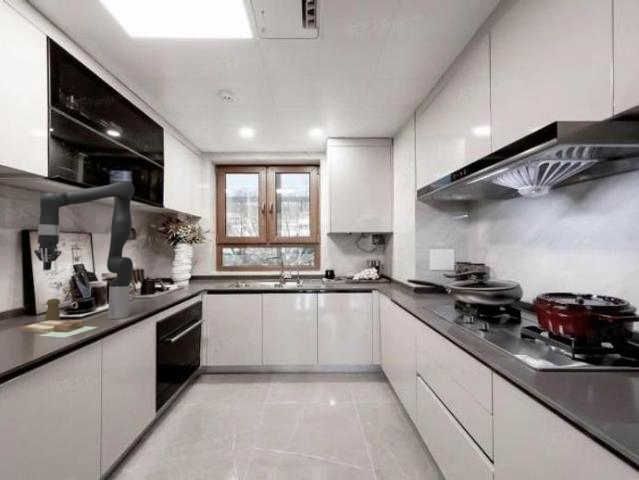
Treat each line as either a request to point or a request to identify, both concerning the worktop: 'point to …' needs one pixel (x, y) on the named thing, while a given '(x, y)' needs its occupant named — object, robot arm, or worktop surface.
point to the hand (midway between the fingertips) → (47, 269)
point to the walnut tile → (68, 326)
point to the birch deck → (41, 327)
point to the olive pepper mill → (53, 310)
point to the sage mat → (68, 334)
